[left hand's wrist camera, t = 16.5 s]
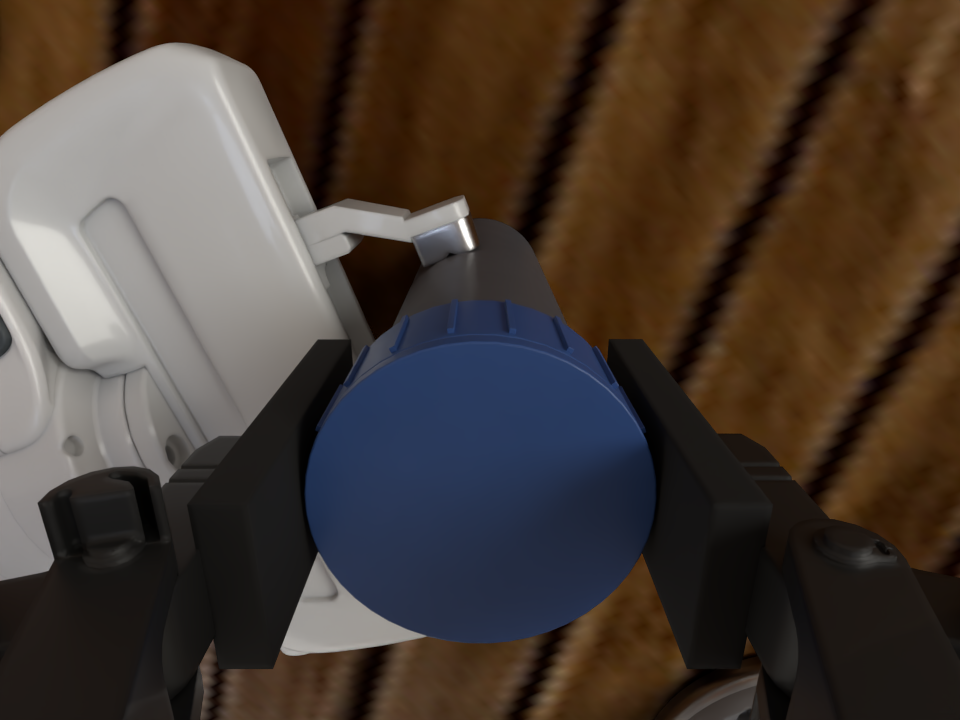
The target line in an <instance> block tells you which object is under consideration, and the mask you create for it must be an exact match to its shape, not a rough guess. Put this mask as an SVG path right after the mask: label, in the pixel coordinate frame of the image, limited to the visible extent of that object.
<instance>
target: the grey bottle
mask: <svg viewBox="0 0 960 720" xmlns="http://www.w3.org/2000/svg"><path fill="white" fill-rule="evenodd" d="M473 222H474V225H475V228H476V231H477V233H478V236H479V239H480V241H479V243H480V245H479V246H478V247H476V248H475V249H473V250H470V251H468V252H466V253H462V254H453V253H449V254H448V256H447V257H446V259H444V260H442V261H440V262H438V263H435V264H432V265H430V266H427V267H423V265H422V263H421V265H420V267H419V269H418V272H417V274H416V276H415V278H414V280H413V283H412V285H411V287H410V289H409V291H408V294H407V296H406V298H405V300H404V303H403V305H402V307H401V309H400V311H399V314H398V316H397V318H396V320H395V322H394V325H396V324H397V323H399V322H400V321H401V318H402V317H403V316H405V315H408V317H410V316H412V315H414V314H416V313H419V312H422V311H424V310H427V309H429V308H432V307H436V306H440V305H444V304H448V303H451V301H452V300H453V299H458V302H461V301H470V300H493V301H500V302H505V299H507V300H511V303H514V304H517V305H521V306H524V307H528V308H532V309H534V310H537V311H539V312H542V313H544V314H546V315H549V316H551V317H553V318H554V317H555V316H558V317H560V319H561V321H562V323H563V324H565V325H566V326H567V323H566V321H565V319H564V317H563V315H562V313H561V310H560V308H559V306H558V304H557V302H556V299H555V297H554V295H553V293H552V291H551V289H550V286H549V284H548V282H547V280H546V278H545V275H544V273H543V271H542V269H541V267H540V265H539V262H538V260H537V258H536V256H535V254H534V252H533V249H532V248H531V246H530V245H529V243H528V242H527V241H526V239H525V238H524V237H523V236H522V235H521V234H520V233H519V232H517V231H516V230H515V229H513V228H512V227H510V226H508V225H506V224H504V223H502V222H499V221H496V220H491V219H481V218H478V219H473ZM394 325H393V326H394Z"/></svg>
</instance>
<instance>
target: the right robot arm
mask: <svg viewBox="0 0 960 720" xmlns="http://www.w3.org/2000/svg"><path fill="white" fill-rule="evenodd" d="M363 235H367V236H373V237H380V238H386V239H392V240H399V241H405V242H411V243H412V241H413V244H414V246H415V248H416V251H417V253H418V255H419V258H420V260H421V262H422V265H423V267H427V266H430V265H432V264H435V263H438V262H440V261H442V260H444V259H446V257H447V256H448V254H449V253H453V254H462V253H466V252H468V251H470V250H473V249H475V248H476V247H478V246H479V245H480V243H479V241H480V239H479V236H478V233H477V231H476V228H475V225H474V222H473V219H472V216H471V213H470V211H469V207H468V205H467V202H466V199H465V197H464V195H461V196H457V197H454V198H451V199H448V200H446V201H443V202H440V203H438V204H435V205H432V206H430V207H427V208H424V209H422V210H419V211H416V212H414V213H410V211H409V210H408V209H402V208H397V207H391V206H386V205H381V204H375V203H370V202H364V201H359V200H354V199H345V200H343V201H340V202H338V203H335V204H332V205H330V206H327V207H325V208H322V209H319V210H317V208H316V206H315V204H314V202H313V199H312V197H311V195H310V193H309V190H308V188H307V186H306V184H305V181H304V179H303V177H302V175H301V173H300V170H299V168H298V166H297V164H296V161H295V159H294V157H293V155H292V152H291V150H290V148H289V146H288V143H287V141H286V139H285V137H284V135H283V132H282V130H281V128H280V126H279V123H278V121H277V119H276V117H275V114H274V112H273V110H272V108H271V105H270V103H269V101H268V99H267V96H266V94H265V92H264V89H263V87H262V85H261V83H260V81H259V79H258V77H257V75H256V74H255V72H254V71H253V70H252V69H251V68H250V67H248V66H247V65H245V64H243V63H241V62H238V61H236V60H234V59H232V58H230V57H228V56H226V55H223V54H221V53H219V52H216V51H214V50H211V49H208V48H205V47H201V46H197V45H193V44H187V43H167V44H162V45H158V46H155V47H152V48H149V49H147V50H145V51H142V52H140V53H137V54H135V55H133V56H131V57H129V58H127V59H124V60H122V61H120V62H118V63H116V64H114V65H112V66H110V67H108V68H106V69H104V70H102V71H101V72H99V73H97V74H95V75H93V76H91V77H89V78H88V79H86V80H84V81H82V82H81V83H79V84H77V85H75V86H74V87H72V88H70V89H68V90H67V91H65V92H64V93H62V94H60V95H59V96H57V97H55V98H54V99H52V100H50V101H49V102H47V103H46V104H44V105H43V106H41V107H40V108H38V109H37V110H35V111H34V112H32V113H31V114H30V115H28V116H27V117H25V118H24V119H22V120H21V121H19V122H18V123H17V124H15V125H14V126H13V127H11V128H10V129H9V130H8V131H6V132H5V133H4V134H3V135H2V136H1V137H0V581H2V580H7V579H12V578H17V577H22V576H27V575H32V574H37V573H42V572H46V571H49V569H50V567H51V565H52V563H53V562H54V557H53V554H52V550H51V547H50V543H49V540H48V537H47V533H46V530H45V527H44V523H43V520H42V517H41V513H40V510H39V507H38V502H39V501H40V500H41V499H42V498H43V497H44V496H45V495H46V494H47V493H48V492H49V491H50V490H52V489H54V488H56V487H57V486H59V485H61V484H63V483H64V482H66V481H68V480H70V479H73V478H76V477H78V476H81V475H84V474H87V473H89V472H93V471H98V470H102V469H107V468H112V467H126V466H136V467H141V468H147V469H150V470H152V471H153V472H155V473H156V474H157V475H159V479H160V483H161V487H162V486H163V485H164V484H165V483H169V479H170V477H171V476H172V475H173V474H174V473H175V472H176V471H177V470H178V469H181V465H182V464H183V463H184V462H185V461H186V460H187V459H188V457H189V456H190V455H191V454H192V453H193V452H194V451H195V450H196V449H197V448H199V447H201V446H203V445H204V444H206V443H208V442H209V441H211V440H213V439H215V438H216V437H218V436H242V434H243V433H244V432H245V431H246V429H247V428H248V427H249V426H250V424H251V423H252V422H253V421H254V419H255V418H256V417H257V415H258V414H259V413H260V412H261V410H262V409H263V408H264V407H265V405H266V404H267V403H268V402H269V400H270V399H271V398H272V397H273V395H274V394H275V393H276V391H277V390H278V389H279V388H280V386H281V385H282V384H283V383H284V381H285V380H286V379H287V378H288V376H289V375H290V374H291V373H292V371H293V370H294V369H295V367H296V366H297V365H298V364H299V362H300V361H301V360H302V359H303V357H304V356H305V355H306V354H307V352H308V351H309V350H310V349H311V347H312V346H313V345H314V343H315V342H316V341H317V340H318V339H351V345H352V358H353V365H354V363H355V362H356V360H357V358H358V356H359V354H360V352H361V351H362V349H363V347H364V346H365V345H367V346H369V347H370V346H371V345H372V344H373V343H374V342H375V338H374V336H373V334H372V332H371V329H370V327H369V325H368V323H367V320H366V318H365V316H364V314H363V312H362V309H361V307H360V305H359V303H358V300H357V298H356V296H355V294H354V291H353V289H352V287H351V285H350V282H349V280H348V278H347V276H346V273H345V271H344V269H343V267H342V264H341V262H340V260H339V258H338V257H340V256H343V255H345V254H348V253H350V252H351V251H352V250H353V249H354V248H355V247H356V246H357V245H358V244H359V243H360V242H361V241H362V240H363ZM422 637H427V636H425V635H422V634H419V633H416V632H413V631H410V630H407V629H405V628H402V627H400V626H398V625H396V624H394V623H391V622H389V621H387V620H386V619H384V618H382V617H381V616H379V615H377V614H376V613H374V612H372V611H371V610H369V609H368V608H367V607H366V606H364V605H363V604H362V603H360V602H359V601H358V600H356V599H355V598H354V597H353V596H352V595H351V594H350V593H349V592H348V591H347V590H346V589H345V588H344V587H343V586H342V585H341V584H340V583H339V582H338V580H337V579H336V578H335V576H334V575H333V574H332V573H331V571H330V570H329V569H328V567H327V565H326V564H325V562H324V560H323V559H322V557H321V555H320V554H319V552H318V554H317V556H316V559H315V561H314V564H313V567H312V569H311V572H310V574H309V577H308V579H307V582H306V585H305V587H304V590H303V592H302V595H301V598H300V600H299V603H298V605H297V608H296V610H295V613H294V616H293V618H292V621H291V623H290V626H289V629H288V631H287V634H286V636H285V639H284V641H283V644H282V647H281V649H280V650H282V652H283V653H284V654H286V655H293V656H296V655H304V654H308V653H327V652H338V651H347V650H355V649H362V648H368V647H375V646H382V645H387V644H393V643H399V642H403V641H408V640H413V639H418V638H422Z"/></svg>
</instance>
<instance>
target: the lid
mask: <svg viewBox="0 0 960 720" xmlns="http://www.w3.org/2000/svg"><path fill="white" fill-rule="evenodd" d="M343 385H344V386H343ZM343 385H341V384H340V385H339V387H338V389H337V391H336V392H335V394H334V396H333V398H332V400H331V401H330V403H329V405H328V407H327V408H326V410H325V412H324V414H323V416H322V417H321V419H320V421H319V423H318V425H317V427H316V429H315V431H318V434H317V436H316V439H315V441H314V444H313V447H312V449H311V452H310V454H309V459H308V464H307V468H306V473H305V488H304V498H305V508H306V516H307V520H308V524H309V528H310V532H311V535H312V537H313V540H314V542H315V545H316V547H317V549H318V552H319V554H320V555H321V557H322V559H323V560H324V562H325V564H326V565H327V567H328V569H329V570H330V571H331V573H332V574H333V575H334V576H335V578H336V579H337V580H338V582H339V583H340V584H341V585H342V586H343V587H344V588H345V589H346V590H347V591H348V592H349V593H350V594H351V595H352V596H353V597H354V598H355V599H356V600H358V601H359V602H360V603H362V604H363V605H364V606H366V607H367V608H368V609H369V610H371V611H372V612H374V613H376V614H377V615H379V616H381V617H382V618H384V619H386V620H387V621H389V622H391V623H394V624H396V625H398V626H400V627H402V628H405V629H407V630H410V631H413V632H416V633H419V634H422V635H425V636H428V637H433V638H437V639H442V640H447V641H455V642H464V643H496V642H507V641H513V640H518V639H524V638H529V637H532V636H536V635H539V634H542V633H545V632H549V631H551V630H553V629H556V628H558V627H561V626H563V625H565V624H568V623H569V622H571V621H573V620H575V619H577V618H578V617H580V616H582V615H584V614H586V613H587V612H588V611H590V610H591V609H592V608H594V607H595V606H597V605H598V604H599V603H601V602H602V601H603V600H604V599H605V598H606V597H608V596H609V595H610V594H611V593H612V592H613V591H614V590H615V589H616V588H617V587H618V586H619V585H620V584H621V582H622V581H623V580H624V579H625V578H626V576H627V575H628V574H629V573H630V571H631V570H632V568H633V567H634V565H635V563H636V562H637V560H638V559H639V557H640V555H641V553H642V551H643V549H644V546H645V544H646V542H647V540H648V537H649V534H650V530H651V527H652V524H653V520H654V514H655V507H656V500H657V496H656V475H655V469H654V463H653V459H652V456H651V453H650V450H649V447H648V444H647V441H646V438H645V437H644V435H643V433H646V430H645V427H644V425H643V424H642V422H641V420H640V418H639V416H638V415H637V413H636V411H635V409H634V408H633V406H632V404H631V402H630V400H629V399H628V397H627V395H626V393H625V392H624V390H623V388H622V386H619V385H618V383H617V381H616V379H615V377H614V376H613V374H612V372H611V370H610V368H609V367H608V365H607V363H606V361H605V359H604V357H603V356H602V354H601V352H600V350H599V349H598V348H597V347H596V346H595V347H593V348H592V347H591V346H590V345H589V344H588V343H587V342H586V341H585V340H584V339H583V338H582V337H581V336H579V335H578V334H577V333H576V332H574V331H573V330H572V329H571V328H569V327H568V326H566V325H565V324H563V323H562V321H561V319H560V317H558V316H555V317H554V318H553V317H551V316H549V315H546V314H544V313H542V312H539V311H537V310H534V309H532V308H528V307H524V306H521V305H517V304H514V303H511V300H507V299H505V302H500V301H493V300H470V301H461V302H458V299H453V300H452V301H451V303H448V304H444V305H440V306H436V307H432V308H429V309H427V310H424V311H422V312H419V313H416V314H414V315H412V316H410V317H408V315H405V316H403V317H402V318H401V321H400V322H399V323H397V324H396V325H394V326H393V327H392V328H390V329H389V330H388V331H386V332H385V333H384V334H382V335H381V336H380V337H379V338H378V339H377V340H376V341H375V342H374V343H373V344H372V345H371V346H370V347H369V346H367V345H365V346H364V347H363V349H362V351H361V352H360V354H359V356H358V358H357V360H356V362H355V363H354V365H353V367H352V369H351V371H350V373H349V374H348V376H347V378H346V380H345V382H344V383H343Z"/></svg>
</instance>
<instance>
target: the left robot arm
mask: <svg viewBox="0 0 960 720" xmlns="http://www.w3.org/2000/svg"><path fill="white" fill-rule="evenodd" d="M607 365H608V367H609V368H610V370H611V372H612V374H613V376H614V377H615V379H616V381H617V383H618V385H619V386H622V388H623V390H624V392H625V393H626V395H627V397H628V399H629V400H630V402H631V404H632V406H633V408H634V409H635V411H636V413H637V415H638V416H639V418H640V420H641V422H642V424H643V425H644V427H645V430H646V433H643V435H644V437H645V438H646V441H647V444H648V447H649V450H650V453H651V456H652V459H653V463H654V469H655V475H656V496H657V500H656V507H655V514H654V520H653V524H652V527H651V530H650V534H649V537H648V540H647V542H646V544H645V546H644V549H643V551H642V554H643V556H644V559H645V561H646V564H647V567H648V569H649V572H650V574H651V577H652V579H653V582H654V585H655V587H656V590H657V592H658V595H659V598H660V600H661V603H662V605H663V608H664V610H665V613H666V616H667V618H668V621H669V623H670V626H671V628H672V631H673V634H674V636H675V639H676V641H677V644H678V647H679V649H680V652H681V654H682V657H683V659H684V662H685V665H686V667H687V669H717V670H714V671H712V672H710V673H708V674H706V675H705V676H703V677H701V678H699V679H698V680H696V681H694V682H693V683H691V684H690V685H688V686H687V687H686V688H684V689H683V690H682V691H680V692H679V693H678V694H677V695H676V696H675V697H673V698H672V699H671V700H670V701H669V702H668V703H667V704H666V705H665V707H664V708H663V709H662V710H661V711H660V712H659V714H658V715H657V716H656V718H655V719H654V720H960V578H958V577H953V576H948V575H942V574H937V573H932V572H927V571H922V570H918V569H914V568H910V566H909V564H908V562H907V560H906V559H905V558H904V556H903V555H902V554H901V553H900V552H899V550H898V549H897V548H896V547H895V546H894V545H893V544H891V543H890V542H888V541H887V540H885V539H884V538H882V537H881V536H879V535H878V534H876V533H874V532H871V531H869V530H867V529H864V528H862V527H860V526H857V525H855V524H851V523H847V522H843V521H839V520H835V519H829V518H828V516H827V515H826V514H825V513H824V512H823V511H822V510H821V509H820V508H819V507H818V505H817V504H816V503H815V502H814V501H813V500H812V499H811V498H810V497H809V496H808V494H807V493H806V492H805V491H804V490H803V489H802V488H801V487H800V486H799V485H798V483H797V482H796V481H795V480H792V479H791V478H792V477H791V476H790V475H789V474H788V472H787V471H786V470H785V469H784V468H783V467H780V466H779V463H778V461H777V460H776V459H775V458H774V457H773V456H772V455H771V454H770V453H769V452H768V450H767V449H766V448H765V447H763V446H761V445H760V444H758V443H756V442H754V441H753V440H751V439H749V438H748V437H746V436H744V435H742V434H717V433H716V432H715V431H714V429H713V428H712V427H711V426H710V424H709V423H708V422H707V421H706V419H705V418H704V417H703V415H702V414H701V413H700V412H699V410H698V409H697V408H696V407H695V405H694V404H693V403H692V402H691V400H690V399H689V398H688V397H687V395H686V394H685V393H684V391H683V390H682V389H681V388H680V386H679V385H678V384H677V383H676V381H675V380H674V379H673V378H672V376H671V375H670V374H669V372H668V371H667V370H666V369H665V367H664V366H663V365H662V364H661V362H660V361H659V360H658V359H657V357H656V356H655V355H654V354H653V352H652V351H651V350H650V348H649V347H648V346H647V345H646V343H645V342H644V341H643V340H642V339H609V346H608V358H607ZM352 367H353V358H352V345H351V339H318V340H317V341H316V342H315V343H314V345H313V346H312V347H311V349H310V350H309V351H308V352H307V354H306V355H305V356H304V357H303V359H302V360H301V361H300V362H299V364H298V365H297V366H296V367H295V369H294V370H293V371H292V373H291V374H290V375H289V376H288V378H287V379H286V380H285V381H284V383H283V384H282V385H281V386H280V388H279V389H278V390H277V391H276V393H275V394H274V395H273V397H272V398H271V399H270V400H269V402H268V403H267V404H266V405H265V407H264V408H263V409H262V410H261V412H260V413H259V414H258V415H257V417H256V418H255V419H254V421H253V422H252V423H251V424H250V426H249V427H248V428H247V429H246V431H245V432H244V433H243V434H242V436H218V437H216V438H215V439H213V440H211V441H209V442H208V443H206V444H204V445H203V446H201V447H199V448H197V449H196V450H195V451H194V452H193V453H192V454H191V455H190V456H189V457H188V459H187V460H186V461H185V462H184V463H183V464H182V465H181V469H178V470H177V471H176V472H175V473H174V474H173V475H172V476H171V477H170V479H169V483H165V484H164V485H163V486H162V487H161V483H160V479H159V475H157V474H156V473H155V472H153V471H152V470H150V469H147V468H141V467H136V466H126V467H112V468H107V469H102V470H98V471H93V472H89V473H87V474H84V475H81V476H78V477H76V478H73V479H70V480H68V481H66V482H64V483H63V484H61V485H59V486H57V487H56V488H54V489H52V490H50V491H49V492H48V493H47V494H46V495H45V496H44V497H43V498H42V499H41V500H40V501H39V502H38V507H39V510H40V513H41V517H42V520H43V523H44V527H45V530H46V533H47V537H48V540H49V543H50V547H51V550H52V554H53V557H54V562H53V563H52V565H51V567H50V569H49V571H46V572H42V573H37V574H32V575H27V576H22V577H17V578H12V579H7V580H2V581H0V720H200V716H201V708H202V701H203V694H204V689H203V682H202V676H201V671H200V666H199V664H200V663H201V661H202V659H203V657H204V655H205V653H206V651H207V649H208V647H209V646H210V644H211V642H212V640H213V639H214V644H215V649H216V654H217V659H218V664H219V669H273V667H274V665H275V662H276V659H277V657H278V654H279V652H280V649H281V647H282V644H283V641H284V639H285V636H286V634H287V631H288V629H289V626H290V623H291V621H292V618H293V616H294V613H295V610H296V608H297V605H298V603H299V600H300V598H301V595H302V592H303V590H304V587H305V585H306V582H307V579H308V577H309V574H310V572H311V569H312V567H313V564H314V561H315V559H316V556H317V554H318V549H317V547H316V545H315V542H314V540H313V537H312V535H311V532H310V528H309V524H308V520H307V516H306V508H305V498H304V488H305V473H306V468H307V464H308V459H309V454H310V452H311V449H312V447H313V444H314V441H315V439H316V436H317V434H318V431H315V429H316V427H317V425H318V423H319V421H320V419H321V417H322V416H323V414H324V412H325V410H326V408H327V407H328V405H329V403H330V401H331V400H332V398H333V396H334V394H335V392H336V391H337V389H338V387H339V385H340V384H341V385H343V383H344V382H345V380H346V378H347V376H348V374H349V373H350V371H351V369H352ZM343 386H344V385H343ZM747 637H748V639H749V640H750V642H751V644H752V646H753V648H754V650H755V652H756V654H757V655H758V656H757V657H752V658H748V659H744V660H742V659H743V654H744V649H745V644H746V639H747Z"/></svg>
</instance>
